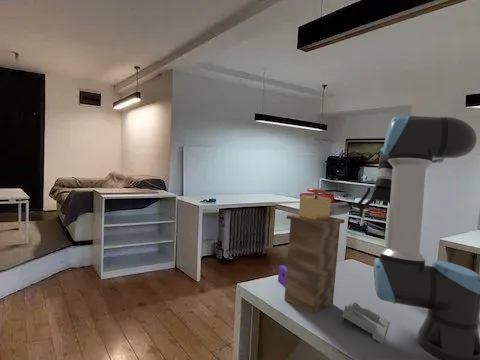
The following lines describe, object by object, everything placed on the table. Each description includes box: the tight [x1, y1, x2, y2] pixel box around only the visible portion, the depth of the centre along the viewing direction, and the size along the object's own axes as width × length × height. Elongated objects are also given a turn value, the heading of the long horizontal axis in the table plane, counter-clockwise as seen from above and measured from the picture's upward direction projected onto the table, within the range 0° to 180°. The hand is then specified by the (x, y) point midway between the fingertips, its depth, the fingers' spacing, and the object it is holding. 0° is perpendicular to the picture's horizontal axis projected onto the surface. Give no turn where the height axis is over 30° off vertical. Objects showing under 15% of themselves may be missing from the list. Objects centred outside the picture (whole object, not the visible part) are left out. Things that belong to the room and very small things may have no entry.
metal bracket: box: [340, 301, 391, 345], centre depth 100 cm, size 14×6×15 cm
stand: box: [283, 213, 345, 314], centre depth 113 cm, size 14×14×30 cm
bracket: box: [277, 265, 287, 288], centre depth 130 cm, size 12×7×7 cm, turn 110°
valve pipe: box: [298, 188, 351, 221], centre depth 116 cm, size 24×7×10 cm, turn 133°
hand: (378, 228), depth 134 cm, fingers open, 13 cm apart
